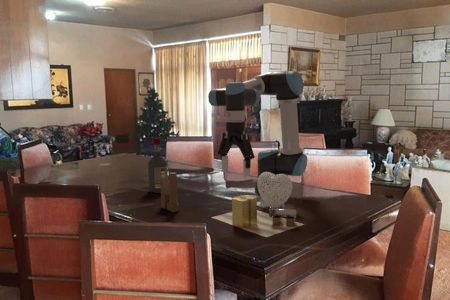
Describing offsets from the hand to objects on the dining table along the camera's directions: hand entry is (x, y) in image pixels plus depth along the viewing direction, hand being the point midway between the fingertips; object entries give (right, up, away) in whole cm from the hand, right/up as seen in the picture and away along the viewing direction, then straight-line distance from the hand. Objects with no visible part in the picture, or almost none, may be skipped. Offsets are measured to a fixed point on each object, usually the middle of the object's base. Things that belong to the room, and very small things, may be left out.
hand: (235, 174), depth 161 cm
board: (+9, -21, +5) cm, 23 cm away
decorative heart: (+19, -18, +24) cm, 35 cm away
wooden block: (-30, -19, +26) cm, 44 cm away
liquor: (-42, -14, +63) cm, 77 cm away
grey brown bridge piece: (+19, -20, 0) cm, 28 cm away
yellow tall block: (+4, -21, 0) cm, 21 cm away
